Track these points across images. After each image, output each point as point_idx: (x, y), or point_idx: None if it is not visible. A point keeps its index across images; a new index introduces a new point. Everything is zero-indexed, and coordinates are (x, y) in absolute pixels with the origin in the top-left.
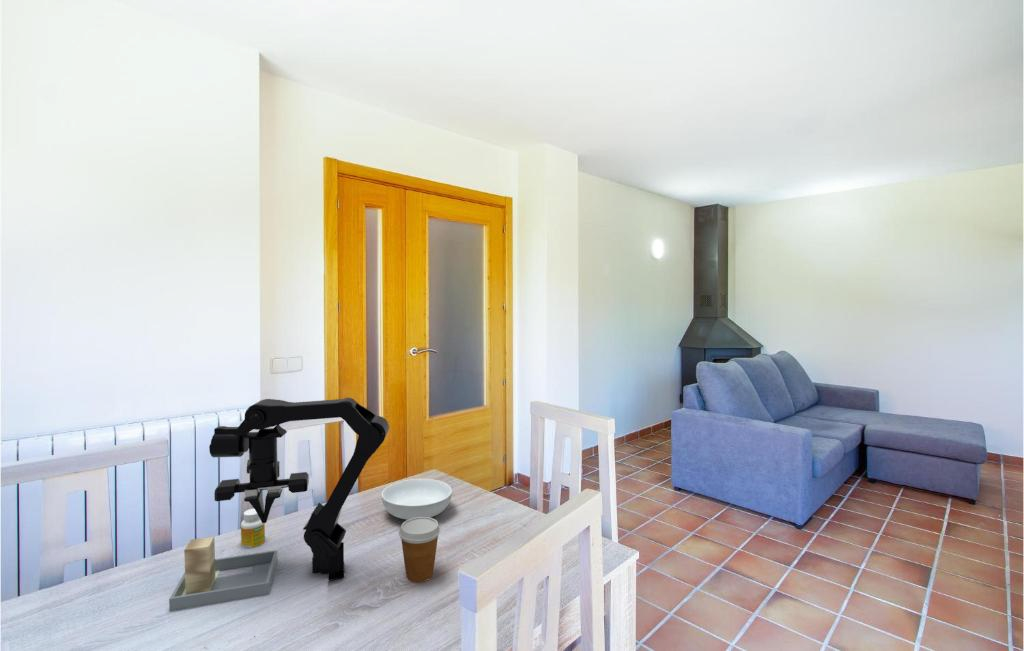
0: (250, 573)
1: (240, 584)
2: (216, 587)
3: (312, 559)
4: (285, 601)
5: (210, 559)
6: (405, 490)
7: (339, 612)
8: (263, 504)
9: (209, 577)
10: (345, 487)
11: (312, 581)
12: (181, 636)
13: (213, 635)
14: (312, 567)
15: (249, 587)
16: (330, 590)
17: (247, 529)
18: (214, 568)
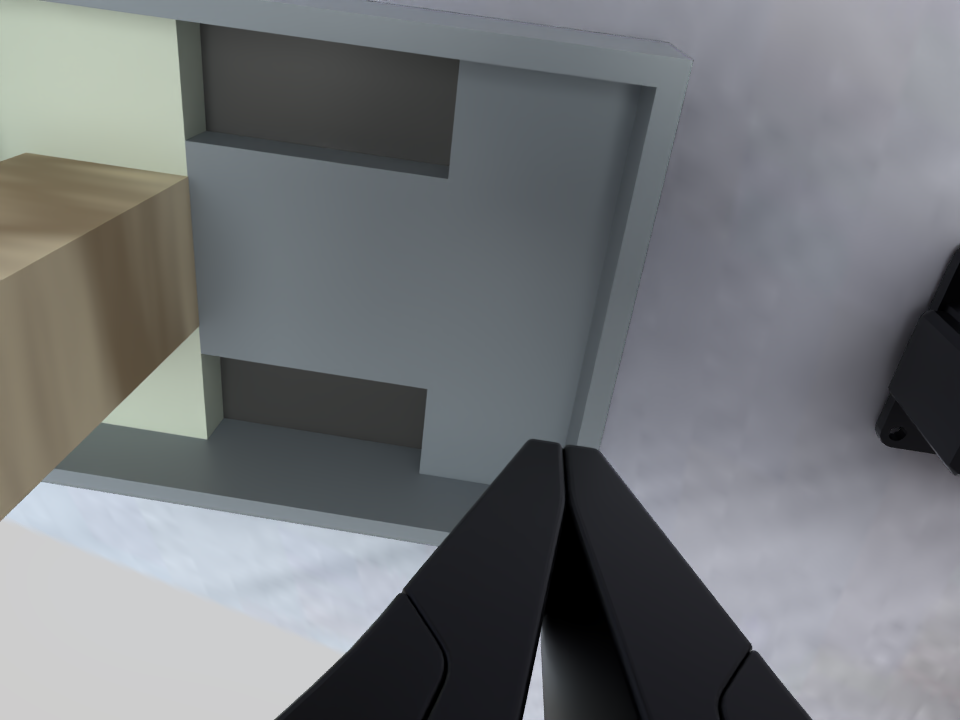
0: (443, 193)
1: (385, 326)
2: (226, 287)
3: (951, 468)
4: (659, 524)
5: (58, 420)
6: None
7: (893, 711)
8: (531, 671)
9: (143, 377)
10: None
11: (867, 401)
12: (182, 559)
13: (323, 611)
14: (917, 425)
15: None
16: (932, 540)
17: None
18: (132, 233)
